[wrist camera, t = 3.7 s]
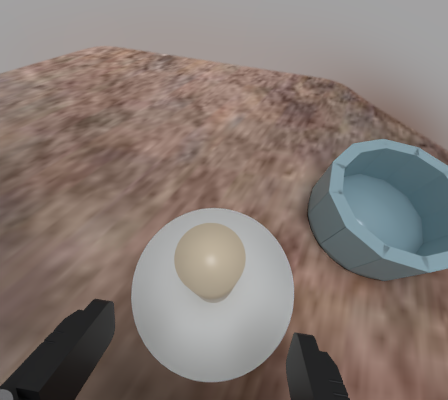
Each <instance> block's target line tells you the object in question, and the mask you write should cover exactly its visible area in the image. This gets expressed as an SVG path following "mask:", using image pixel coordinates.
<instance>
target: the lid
mask: <svg viewBox="0 0 448 400" xmlns="http://www.w3.org/2000/svg"><path fill="white" fill-rule="evenodd" d="M131 301H132V311H133V316H134V321H135V324H136V327H137V330H138V332H139V335H140V337H141V338H142V340H143V342H144V344H145V346H146V347H147V348H148V350H149V351H150V352H151V354H152V355H153V356H154V357H155V358H156V359H157V360H158V361H159V362H160V363H161V364H162V365H164V366H165V367H166V368H168V369H169V370H170V371H172V372H174V373H176V374H178V375H180V376H182V377H185V378H188V379H191V380H195V381H202V382H221V381H227V380H232V379H234V378H237V377H240V376H243V375H245V374H247V373H248V372H250V371H252V370H254V369H255V368H257V367H258V366H259V365H260V364H262V363H263V362H264V361H265V360H266V359H267V358H268V357H269V356H270V355H271V354H272V353H273V352H274V350H275V349H276V348H277V346H278V345H279V344H280V342H281V340H282V338H283V336H284V335H285V333H286V330H287V328H288V325H289V322H290V319H291V315H292V311H293V303H294V283H293V276H292V272H291V268H290V265H289V262H288V259H287V257H286V255H285V253H284V251H283V249H282V247H281V246H280V244H279V243H278V241H277V240H276V238H275V237H274V236H273V235H272V234H271V233H270V232H269V231H268V230H267V229H266V228H265V227H264V226H263V225H262V224H260V223H259V222H257V221H256V220H254V219H253V218H251V217H249V216H247V215H245V214H242V213H240V212H237V211H233V210H229V209H221V208H207V209H200V210H196V211H192V212H189V213H186V214H184V215H181V216H180V217H178V218H176V219H174V220H172V221H171V222H169V223H168V224H166V225H165V226H164V227H163V228H162V229H161V230H159V231H158V232H157V234H156V235H155V236H154V237H153V238H152V239H151V241H150V242H149V243H148V245H147V246H146V248H145V249H144V251H143V253H142V255H141V257H140V259H139V261H138V264H137V266H136V270H135V273H134V277H133V283H132V294H131Z"/></svg>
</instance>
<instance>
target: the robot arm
mask: <svg viewBox="0 0 448 400" xmlns="http://www.w3.org/2000/svg"><path fill="white" fill-rule="evenodd" d="M114 331H115V316H114V303H113V302H112V301H106V300H100V299H94V300H93V301H92V302H91V303H90V304H89V305H88V306H87V307H86V308H85V309H84V311H83V310H77V311H76V312H74V313H73V314H71V315H70V316H68V317H67V318H65V319H64V320H63V321H62V322H61V323H60V324H59V325H58V326H57V327H56V328H55V329H54V331H53V333H51V334H50V335H49V336H48V337H47V338H46V339H45V340H44V342H43V343H41V344H40V345H39V346H38V347H37V349H36V350H35V351H34V352H33V353H32V354H31V355H30V356H29V357H28V358H27V359H26V360H25V361H24V362H23V363H22V364H21V365H20V367H19V368H18V369H17V370H16V371H15V372H14V373H13V374H12V375H11V376H10V377H9V378H8V379H7V380H6V381H5V382H4V383H3V384H2V385H1V386H0V400H75V398H76V396H77V395H78V393H79V392H80V390H81V388H82V387H83V385H84V384H85V382H86V380H87V379H88V377H89V376H90V374H91V372H92V371H93V369H94V368H95V366H96V364H97V363H98V361H99V360H100V358H101V357H102V355H103V353H104V352H105V350H106V349H107V347H108V345H109V344H110V342H111V340H112V338H113V335H114ZM286 373H287V380H288V386H289V392H290V397H291V400H350V398H348V393H347V391H346V388H345V386H344V385H343V380H342V378H341V375H340V373H339V370H338V367H337V365H336V364H335V363H334V361H333V360H332V359H331V357H330V356H329V355H328V353H327V352H321V351H319V349H318V346H317V343H316V340H315V338H314V336H313V335H307V334H301V333H294V334H293V338H292V341H291V345H290V348H289V352H288V355H287V360H286Z"/></svg>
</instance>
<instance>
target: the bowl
mask: <svg viewBox="0 0 448 400" xmlns="http://www.w3.org/2000/svg"><path fill="white" fill-rule="evenodd" d="M308 218H309V223H310V226H311V229H312V232H313V234H314V236H315V238H316V240H317V241H318V243H319V244H320V246H321V247H322V248H323V250H324V251H325V252H326V253H327V254H328V255H329V256H330V257H331V258H332V259H333V260H334V261H336V262H337V263H338V264H340V265H341V266H343V267H344V268H346V269H347V270H349V271H351V272H353V273H356V274H358V275H361V276H364V277H368V278H372V279H379V280H382V281H387V280H393V279H398V278H403V277H409V276H414V275H419V274H425V273H430V272H434V271H438V270H443V269H447V268H448V166H447V165H445V164H444V163H442V162H441V161H439V160H438V159H436V158H434V157H433V156H431V155H430V154H428V153H426V152H425V151H423V150H422V149H420V148H418V147H414V146H410V145H406V144H402V143H398V142H394V141H390V140H386V139H380V140H373V141H367V142H361V143H354V144H352V145H351V146H350V147H349V148H348V149H347V150H345V151H344V152H343V153H342V154H341V155H340V156H339V157H338V158H337V159H335V160H334V161H333V162H332V164H331V165H330V166H329V168H328V169H327V170H326V172H325V173H324V174H323V175H322V177H321V178H320V179H319V181H318V182H317V183H316V185H315V186H314V187H313V189H312V194H311V196H310V199H309V203H308Z"/></svg>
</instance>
